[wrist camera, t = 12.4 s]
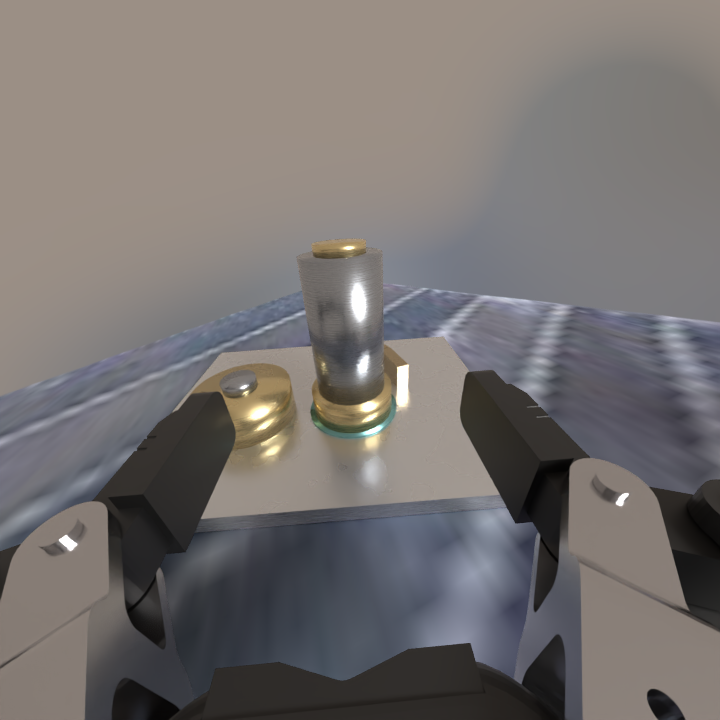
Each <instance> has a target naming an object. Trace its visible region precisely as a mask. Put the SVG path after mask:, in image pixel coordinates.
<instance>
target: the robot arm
mask: <svg viewBox="0 0 720 720" xmlns="http://www.w3.org/2000/svg"><path fill="white" fill-rule="evenodd" d="M460 419H461V423H462V426H463V428H464V430H465V432H466V433H467V435H468V437H469V439H470V441H471V443H472V444H473V446H474V448H475V450H476V452H477V454H478V455H479V457H480V459H481V461H482V463H483V465H484V466H485V468H486V470H487V472H488V474H489V476H490V477H491V479H492V481H493V483H494V485H495V487H496V488H497V490H498V492H499V494H500V496H501V498H502V499H503V501H504V503H505V505H506V507H507V509H508V510H509V512H510V514H511V516H512V518H513V520H514V521H515V523H526V522H533V524H534V525H535V527H536V529H537V530H538V534H537V536H536V541H535V550H534V559H533V568H532V576H531V585H530V594H529V603H528V612H527V618H526V623H525V627H524V630H523V633H522V636H521V640H520V645H519V649H518V655H517V661H516V669H515V677H514V679H512V678H511V677H509V676H507V675H506V674H504V673H503V672H501V671H499V670H497V669H494V668H492V667H490V666H488V665H485V664H483V663H480V662H476V661H475V658H474V654H473V651H472V647H471V644H470V643H465V644H455V645H445V646H435V647H425V648H415V649H408V650H406V651H404V652H402V653H400V654H398V655H396V656H394V657H392V658H390V659H388V660H386V661H384V662H382V663H381V664H379V665H377V666H375V667H373V668H371V669H369V670H367V671H365V672H363V673H361V674H359V675H357V676H355V677H353V678H351V679H349V680H344V681H340V680H335V679H332V678H329V677H326V676H322V675H319V674H316V673H313V672H309V671H306V670H303V669H300V668H296V667H293V666H290V665H287V664H283V663H280V662H276V663H266V664H256V665H246V666H236V667H226V668H216V669H215V672H214V676H213V679H212V683H211V687H210V690H209V691H208V692H206V693H204V694H203V695H201V696H200V697H198V698H197V699H194V694H193V690H192V686H191V683H190V680H189V677H188V675H187V672H186V670H185V668H184V666H183V664H182V663H181V660H180V658H179V655H178V652H177V649H176V644H175V638H174V633H173V627H172V621H171V616H170V610H169V604H168V598H167V593H166V587H165V581H164V576H163V572H162V570H161V568H160V565H161V563H162V561H163V559H164V557H165V555H166V554H171V553H182V552H186V550H187V548H188V546H189V544H190V542H191V539H192V537H193V535H194V533H195V531H196V528H197V526H198V524H199V522H200V519H201V517H202V515H203V513H204V511H205V508H206V506H207V504H208V502H209V500H210V497H211V495H212V493H213V491H214V489H215V486H216V484H217V482H218V480H219V478H220V475H221V473H222V471H223V469H224V466H225V464H226V462H227V460H228V458H229V455H230V453H231V451H232V449H233V447H234V444H235V438H236V431H235V426H234V424H233V421H232V419H231V416H230V413H229V411H228V408H227V406H226V403H225V400H224V398H223V396H222V394H221V393H220V392H218V391H216V392H203V393H193V394H191V395H190V396H189V397H188V398H187V399H186V401H185V402H184V403H183V404H182V405H181V407H180V408H179V409H178V410H176V411H174V412H173V413H171V414H170V415H169V416H167V417H166V418H164V419H163V420H162V421H160V422H159V423H158V424H157V425H156V426H155V428H154V429H153V430H152V431H151V432H150V434H149V435H148V436H147V439H144V441H143V442H142V443H141V444H140V445H139V447H138V448H137V451H134V452H133V454H132V455H131V456H130V457H129V458H128V459H127V461H126V462H125V463H124V464H123V465H122V467H121V468H120V469H119V470H118V471H117V472H116V474H115V475H114V476H113V477H112V478H111V480H110V481H109V482H108V483H107V484H106V485H105V487H104V488H103V489H102V490H101V491H100V492H99V494H98V495H97V496H96V497H95V498H94V500H93V501H92V502H85V503H81V504H78V505H75V506H73V507H70V508H68V509H66V510H64V511H62V512H60V513H58V514H57V515H55V516H53V517H52V518H50V519H49V520H47V521H46V522H45V523H43V524H42V525H41V526H39V527H38V528H37V529H36V530H35V531H33V532H32V533H31V534H30V535H29V536H28V537H27V538H26V539H25V540H24V541H23V543H22V544H20V545H17V546H14V547H11V548H8V549H5V550H3V551H0V720H720V480H717V479H716V480H709V481H707V482H705V483H704V484H703V485H702V486H701V487H700V488H699V489H698V490H697V492H696V493H695V494H694V495H692V494H686V493H680V492H675V491H669V490H664V489H658V488H653V487H648V486H647V485H646V484H645V483H644V482H643V481H642V480H641V479H639V478H638V477H637V476H635V475H634V474H632V473H631V472H629V471H627V470H626V469H624V468H622V467H620V466H618V465H615V464H613V463H610V462H607V461H604V460H600V459H593V458H590V457H589V456H588V455H587V454H586V453H585V452H584V451H583V450H582V449H581V448H580V447H579V446H578V445H577V444H576V443H575V442H574V441H573V440H572V439H571V438H570V437H569V436H568V435H567V434H566V433H565V432H564V431H563V429H562V428H561V427H560V426H559V425H558V424H557V423H556V422H555V421H554V420H553V419H552V418H551V417H550V418H549V417H548V414H547V413H546V412H545V411H544V410H543V409H542V408H541V407H538V404H537V403H536V402H535V401H534V400H533V399H532V398H531V397H530V396H529V395H528V394H527V393H526V392H524V391H522V390H520V389H519V388H517V387H515V386H513V385H512V384H506V383H505V382H504V381H503V380H502V379H501V378H500V377H499V376H498V375H497V374H496V372H494V371H493V370H486V371H473V372H467V374H466V376H465V380H464V386H463V392H462V398H461V404H460Z"/></svg>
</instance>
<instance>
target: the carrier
mask: <svg viewBox="0 0 720 720" xmlns="http://www.w3.org/2000/svg"><path fill="white" fill-rule="evenodd" d="M384 372H385V373H386V374H387V375H388V376H389V378H390V380H391V412H390V414H389V416H388V418H387V419H386V420H385V421H384V422H383V423H382V424H380V425H379V426H377V427H376V428H373V429H371V430H368V431H365V432H361V433H350V434H348V433H340V432H336V431H332V430H330V429H328V428H326V427H325V426H323V425H322V424H321V423H320V422H319V420H318V419H317V416H316V412H315V407H314V401H313V396H312V385H313V383H314V381H315V380H316V378H317V377H316V371H315V365H314V359H313V353H312V347H311V346H309V347H295V348H282V349H268V350H254V351H241V352H227V353H221V354H220V355H219V356H218V358H217V359H216V360H215V361H214V362H213V364H212V365H211V366H210V367H209V368H208V370H207V371H206V372H205V373H204V374H203V376H202V377H201V378H200V379H199V380H198V382H197V383H196V384H195V385H194V386H193V388H192V389H191V390H190V391H189V392H188V394H187V395H186V396H185V397H184V398H183V400H182V401H181V402H180V403H179V404H178V406H177V407H176V408H175V409H174V410H173V412H174V411H176V410H178V409H179V408H180V407H181V405H182V404H183V403H184V402H185V401H186V399H187V398H188V397H189V396H190V395H191V394H193V393H203V392H216V391H218V392H220V393H221V394H222V396H223V398H224V400H225V403H226V406H227V408H228V411H229V413H230V416H231V419H232V421H233V424H234V426H235V431H236V438H235V444H234V447H233V449H232V451H231V453H230V455H229V458H228V460H227V462H226V464H225V466H224V469H223V471H222V473H221V475H220V478H219V480H218V482H217V484H216V486H215V489H214V491H213V493H212V495H211V497H210V500H209V502H208V504H207V506H206V508H205V511H204V513H203V515H202V517H201V519H200V522H199V524H198V526H197V528H196V531H195V533H200V532H212V531H224V530H236V529H249V528H261V527H273V526H285V525H297V524H309V523H322V522H334V521H346V520H358V519H370V518H382V517H394V516H407V515H419V514H431V513H443V512H455V511H467V510H480V509H492V508H504V507H506V505H505V503H504V501H503V499H502V498H501V496H500V494H499V492H498V490H497V488H496V487H495V485H494V483H493V481H492V479H491V477H490V476H489V474H488V472H487V470H486V468H485V466H484V465H483V463H482V461H481V459H480V457H479V455H478V454H477V452H476V450H475V448H474V446H473V444H472V443H471V441H470V439H469V437H468V435H467V433H466V432H465V430H464V428H463V426H462V423H461V419H460V404H461V398H462V392H463V386H464V380H465V376H466V374H467V372H469V370H468V369H467V368H466V366H465V365H464V364H463V362H462V361H461V360H460V358H459V357H458V356H457V354H456V353H455V352H454V350H453V349H452V348H451V346H450V345H449V344H448V342H447V341H446V340H445V338H444V337H432V338H418V339H404V340H391V341H384ZM173 412H172V413H173Z"/></svg>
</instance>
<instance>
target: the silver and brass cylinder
mask: <svg viewBox="0 0 720 720" xmlns="http://www.w3.org/2000/svg"><path fill="white" fill-rule="evenodd" d="M297 262H298V268H299V274H300V280H301V286H302V293H303V299H304V305H305V311H306V317H307V323H308V329H309V335H310V341H311V347H312V353H313V359H314V365H315V371H316V377H317V378H316V380H315V381H314V383H313V385H312V396H313V401H314V407H315V412H316V416H317V419H318V420H319V422H320V423H321V424H322V425H323V426H325V427H326V428H328V429H330V430H332V431H336V432H340V433H348V434H350V433H361V432H365V431H368V430H371V429H373V428H376V427H377V426H379V425H380V424H382V423H383V422H384V421H385V420H386V419H387V418H388V416H389V414H390V412H391V380H390V378H389V376H388V375H387V374H386V373H385V372H384V325H383V263H382V250H380V249H375V248H367V247H366V240H364V239H337V240H326V241H320V242H315V243H313V244H312V252H308V253H304V254H302V255H299V256H298V257H297Z"/></svg>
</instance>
